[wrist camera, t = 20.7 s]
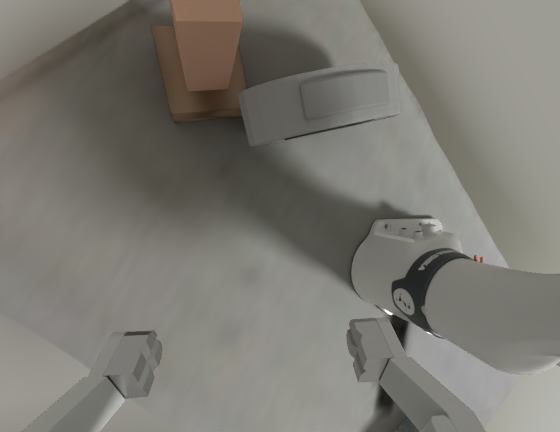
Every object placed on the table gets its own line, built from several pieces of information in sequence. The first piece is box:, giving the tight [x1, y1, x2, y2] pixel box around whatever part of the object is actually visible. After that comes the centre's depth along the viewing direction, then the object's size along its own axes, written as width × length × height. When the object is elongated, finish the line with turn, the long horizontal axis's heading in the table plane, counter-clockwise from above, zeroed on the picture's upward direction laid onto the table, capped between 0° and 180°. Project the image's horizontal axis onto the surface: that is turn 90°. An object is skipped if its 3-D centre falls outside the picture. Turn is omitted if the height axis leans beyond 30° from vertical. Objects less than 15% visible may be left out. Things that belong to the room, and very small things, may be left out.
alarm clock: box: [237, 62, 402, 147], centre depth 33 cm, size 23×6×13 cm, turn 105°
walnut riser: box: [150, 25, 247, 123], centre depth 32 cm, size 10×10×4 cm
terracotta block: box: [170, 0, 243, 92], centre depth 24 cm, size 5×5×13 cm
